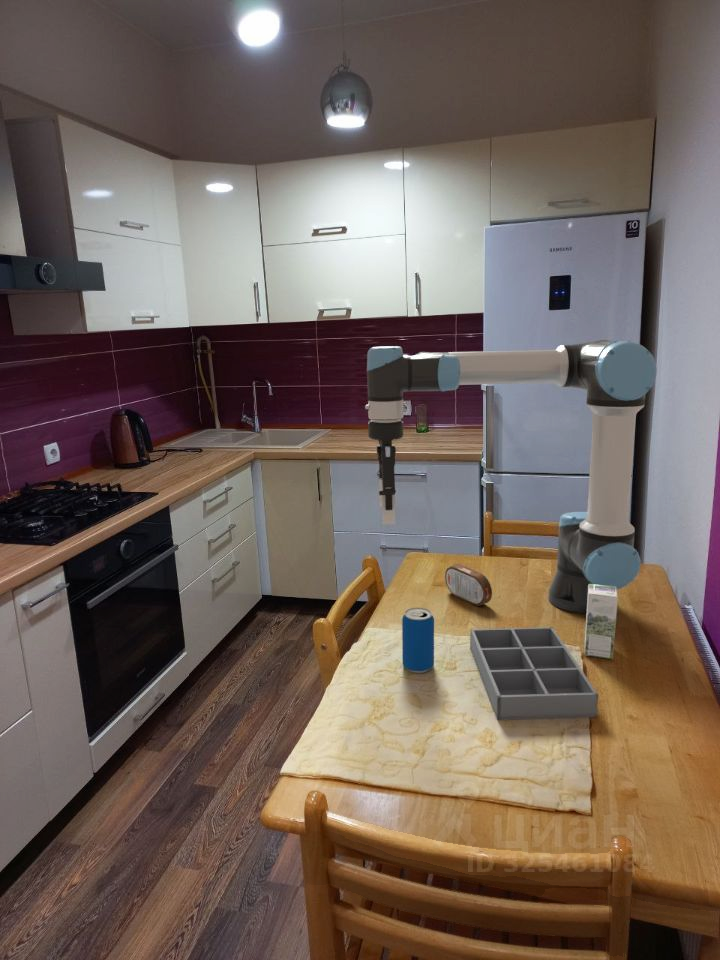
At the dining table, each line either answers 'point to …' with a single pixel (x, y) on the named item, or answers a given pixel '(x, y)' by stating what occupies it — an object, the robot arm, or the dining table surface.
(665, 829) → the dining table surface
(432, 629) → the beverage can
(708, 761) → the dining table surface
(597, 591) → the syrup box
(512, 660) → the can crate
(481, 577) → the tin
